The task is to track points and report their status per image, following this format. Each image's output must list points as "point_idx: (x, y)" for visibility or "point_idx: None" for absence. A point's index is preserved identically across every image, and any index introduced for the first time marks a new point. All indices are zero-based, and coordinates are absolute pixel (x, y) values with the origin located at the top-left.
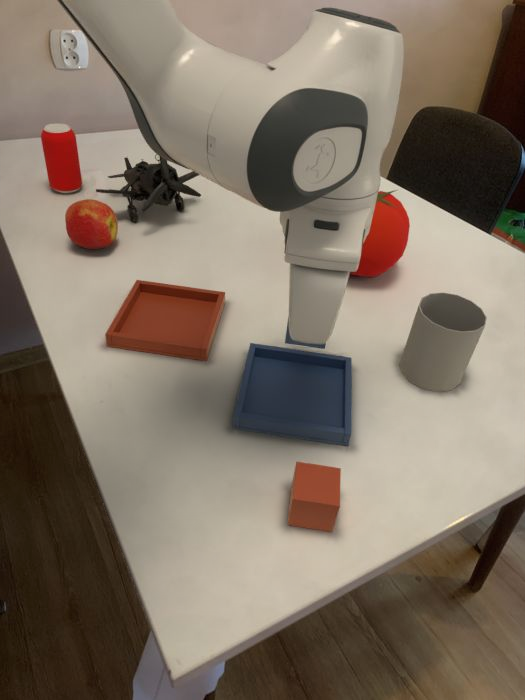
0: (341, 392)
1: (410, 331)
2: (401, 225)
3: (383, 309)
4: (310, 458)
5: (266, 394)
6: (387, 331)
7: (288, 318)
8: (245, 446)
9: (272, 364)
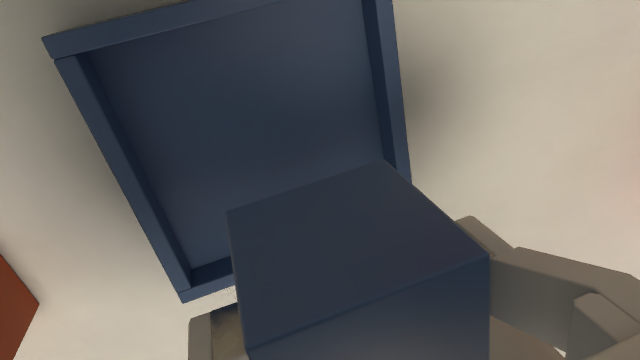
0: None
1: (494, 334)
2: None
3: (592, 195)
4: (101, 235)
5: (228, 73)
6: (528, 223)
7: (238, 307)
8: (24, 93)
9: (345, 43)
